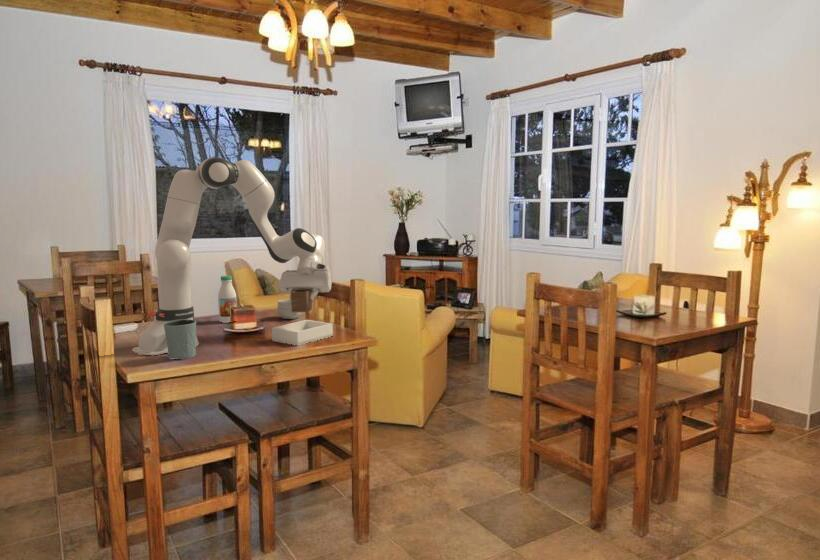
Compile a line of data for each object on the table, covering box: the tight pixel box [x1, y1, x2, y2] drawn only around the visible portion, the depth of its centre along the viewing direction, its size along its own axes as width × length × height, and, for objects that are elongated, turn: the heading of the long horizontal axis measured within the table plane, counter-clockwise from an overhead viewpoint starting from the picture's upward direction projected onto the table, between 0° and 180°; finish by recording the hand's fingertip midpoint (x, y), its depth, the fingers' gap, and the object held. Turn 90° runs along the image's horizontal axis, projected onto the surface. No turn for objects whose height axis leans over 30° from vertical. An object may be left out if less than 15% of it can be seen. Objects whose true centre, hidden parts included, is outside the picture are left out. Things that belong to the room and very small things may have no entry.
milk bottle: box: [217, 275, 238, 324], centre depth 259 cm, size 8×8×20 cm
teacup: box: [277, 299, 303, 320], centre depth 265 cm, size 14×11×8 cm
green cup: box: [164, 319, 197, 359], centre depth 201 cm, size 10×10×12 cm
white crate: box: [271, 319, 334, 347], centre depth 226 cm, size 18×14×5 cm
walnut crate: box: [291, 290, 313, 313], centre depth 225 cm, size 6×6×8 cm
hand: (301, 299), depth 224 cm, fingers closed on walnut crate, 6 cm apart
